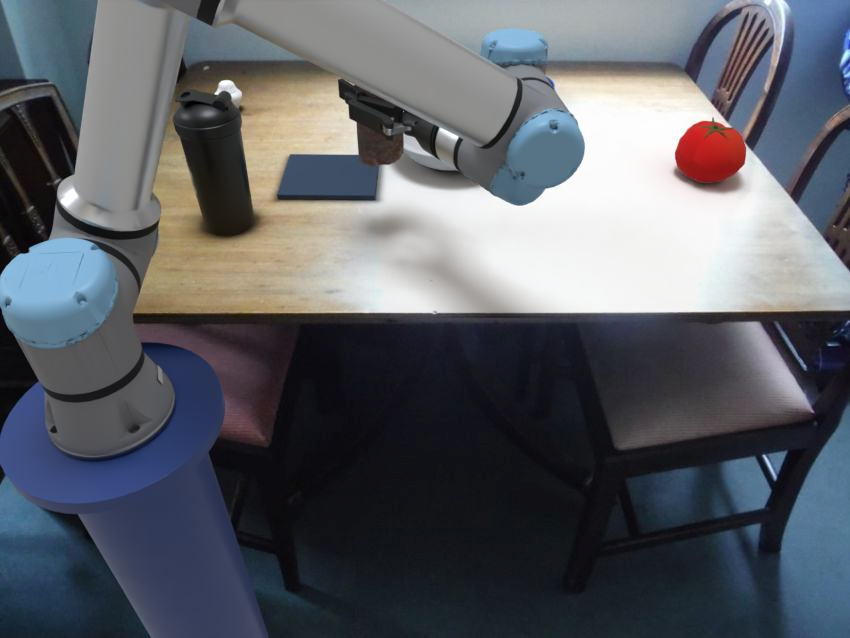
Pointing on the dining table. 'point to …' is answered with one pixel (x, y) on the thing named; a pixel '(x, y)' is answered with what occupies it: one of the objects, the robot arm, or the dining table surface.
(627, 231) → the dining table surface
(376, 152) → the candle
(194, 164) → the water bottle
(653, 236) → the dining table surface
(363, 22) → the robot arm
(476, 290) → the dining table surface
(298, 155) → the mat
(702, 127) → the tomato
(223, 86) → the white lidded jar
